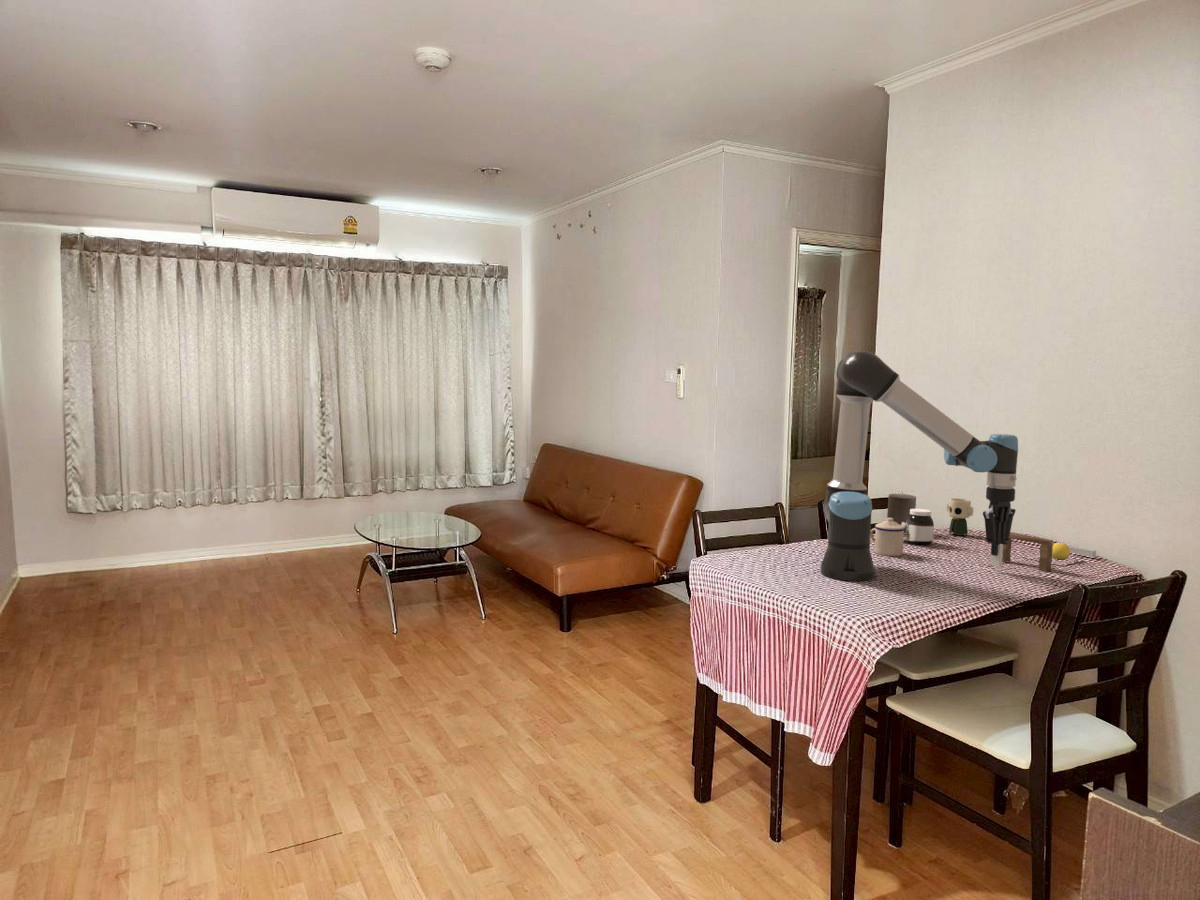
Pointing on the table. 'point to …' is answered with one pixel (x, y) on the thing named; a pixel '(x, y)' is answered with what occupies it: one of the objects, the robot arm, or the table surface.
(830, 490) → the robot arm
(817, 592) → the table surface
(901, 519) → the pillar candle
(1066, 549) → the ball
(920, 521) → the spread jar
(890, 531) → the teacup with lid
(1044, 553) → the bridge
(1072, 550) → the wall
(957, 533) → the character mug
